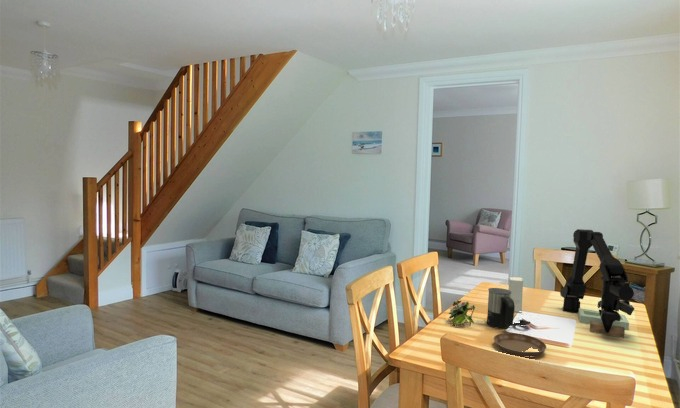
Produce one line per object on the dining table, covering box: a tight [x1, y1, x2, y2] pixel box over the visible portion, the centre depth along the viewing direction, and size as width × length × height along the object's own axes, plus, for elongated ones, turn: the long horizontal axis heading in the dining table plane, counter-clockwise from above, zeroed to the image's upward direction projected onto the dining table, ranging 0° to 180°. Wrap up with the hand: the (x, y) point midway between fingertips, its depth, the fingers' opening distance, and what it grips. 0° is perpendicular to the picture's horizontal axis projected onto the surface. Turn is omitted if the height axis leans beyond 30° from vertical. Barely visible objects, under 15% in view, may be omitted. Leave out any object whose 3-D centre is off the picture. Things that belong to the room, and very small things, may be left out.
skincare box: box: [508, 276, 524, 313], centre depth 209 cm, size 8×6×15 cm
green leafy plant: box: [448, 300, 476, 327], centre depth 186 cm, size 11×11×12 cm
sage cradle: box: [577, 307, 630, 331], centre depth 197 cm, size 18×12×3 cm, turn 65°
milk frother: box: [485, 287, 531, 330], centre depth 186 cm, size 14×16×15 cm
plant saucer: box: [493, 332, 547, 358], centre depth 162 cm, size 18×18×3 cm
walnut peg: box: [589, 321, 626, 339], centre depth 182 cm, size 12×4×4 cm, turn 60°
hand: (606, 330), depth 182 cm, fingers closed on walnut peg, 4 cm apart
